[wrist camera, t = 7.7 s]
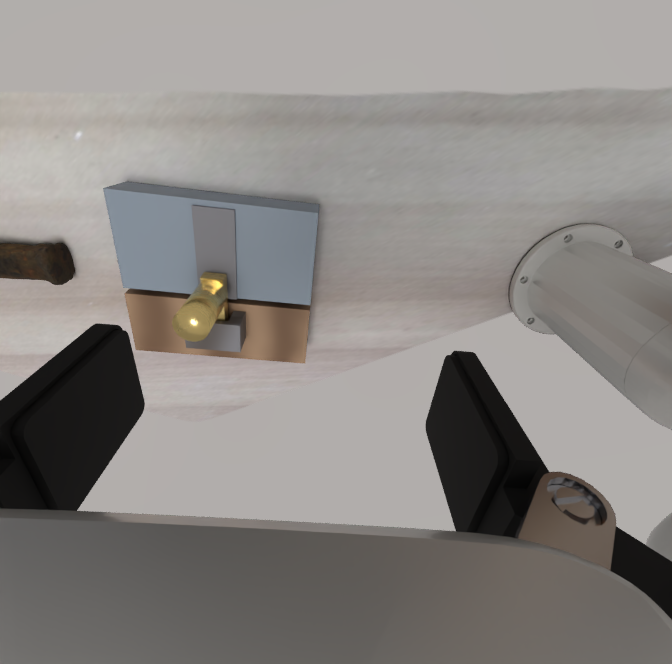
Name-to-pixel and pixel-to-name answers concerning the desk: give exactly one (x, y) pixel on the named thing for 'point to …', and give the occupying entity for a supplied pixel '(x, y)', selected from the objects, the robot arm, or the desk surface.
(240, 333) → the door jamb
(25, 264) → the hand tool
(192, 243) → the door leaf
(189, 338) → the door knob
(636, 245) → the desk surface
